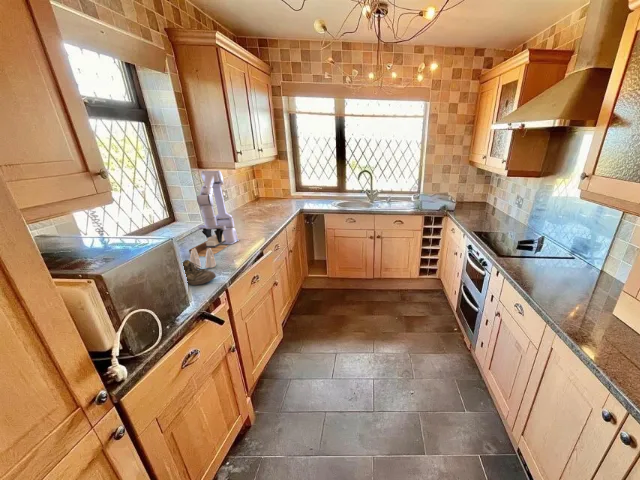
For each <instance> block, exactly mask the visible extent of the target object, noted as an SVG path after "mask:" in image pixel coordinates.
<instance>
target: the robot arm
mask: <svg viewBox="0 0 640 480" xmlns="http://www.w3.org/2000/svg"><path fill="white" fill-rule="evenodd" d="M200 176H201V179H202V181H203V183H204V184H203V185H202V186H201V187H200V192H199V194H198V195H197V196H196V202H197V205H198V207H199V210H201V214H202V218H203V222H204V224H200V225H197V229H198V230H201V233H202V234H203V235H204V236H205V237H206V238H209V237H211V236H213V234H212V230H214V232H213V233H214V235H215V234H216V236H217V239H218V242H219V243H221V242H222V234H223V235H224V240H226V242H225V243H223V244H222V245H233V244H235V243H237V242H238V241H240V239H239V238H238V234H237V230H236V228H235V220H234V218H233V215H232V214H230V213H228V211H227V208H226V203H225V199H224V194H223V189H222V186H223V185H224V184H225V182H224V177H223V173H222V171H221V170H220V169H217V170H201V172H200ZM214 202H215V205H216V209H217V214H216V212H215V210H214Z"/></svg>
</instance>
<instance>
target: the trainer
mask: <svg viewBox="0 0 640 480" xmlns="http://www.w3.org/2000/svg"><path fill="white" fill-rule="evenodd" d="M206 238H207V237H206ZM206 241H207V242H206ZM206 241H205V242H206V245H207V246H206V248H216V247H217V246H219V245H224V244H223V243H225V242H226V240H224V235H223V234H222V242H221V243H219V242H218V239H217V236H216V234H215V233H214V234H212V236H211V237H209V238H207V240H206Z"/></svg>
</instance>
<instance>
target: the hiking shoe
mask: <svg viewBox="0 0 640 480" xmlns="http://www.w3.org/2000/svg"><path fill="white" fill-rule="evenodd" d="M182 263H183V266H184V270H185V274H186V277H187V281H188V283H187V284H189V285H191V286H196V285H197V286H199V285H203V284H206V283H209V282H210V281H213V280H214V279H216V278H217V275H216V272H214V271H213V270H209V269H206V268H202V266H199V265H197V264H195V265H197V266H199V267H200V268H198V267H196V266H195V265H194V263H192V262H190V259H185V260H184V261H182V262H181V264H182ZM194 266H195V267H196V268H195V267H194Z"/></svg>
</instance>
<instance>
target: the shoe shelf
mask: <svg viewBox="0 0 640 480" xmlns="http://www.w3.org/2000/svg"><path fill="white" fill-rule="evenodd" d="M207 241H208V240H206V241H204V242H202V243H199V244H198V245H196V246H194V247H192V248H190V249H188V252H189V255H190V254H191V250H192V249H193V250H194V248H195V249H196V250H197V253H198V256H199V257H206V252H207V249H209V248H206V246H207V245H206V242H207ZM229 246H230V244H221V245H219V246H217V247H216V248H211V250H212V252H213V255H214V256H215V255H216V254H217V253H219V252H221V251H223V250H225V249H226V248H227V247H229Z"/></svg>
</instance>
